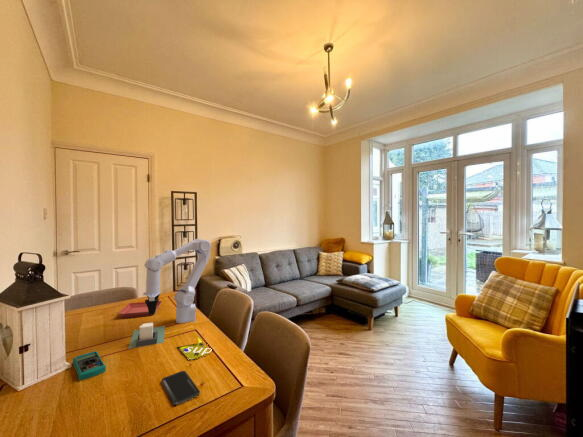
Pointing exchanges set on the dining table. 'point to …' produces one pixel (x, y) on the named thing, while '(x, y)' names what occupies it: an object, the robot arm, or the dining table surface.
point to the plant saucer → (136, 310)
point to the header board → (157, 338)
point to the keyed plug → (146, 331)
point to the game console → (194, 350)
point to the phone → (180, 387)
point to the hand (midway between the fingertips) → (152, 311)
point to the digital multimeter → (89, 365)
